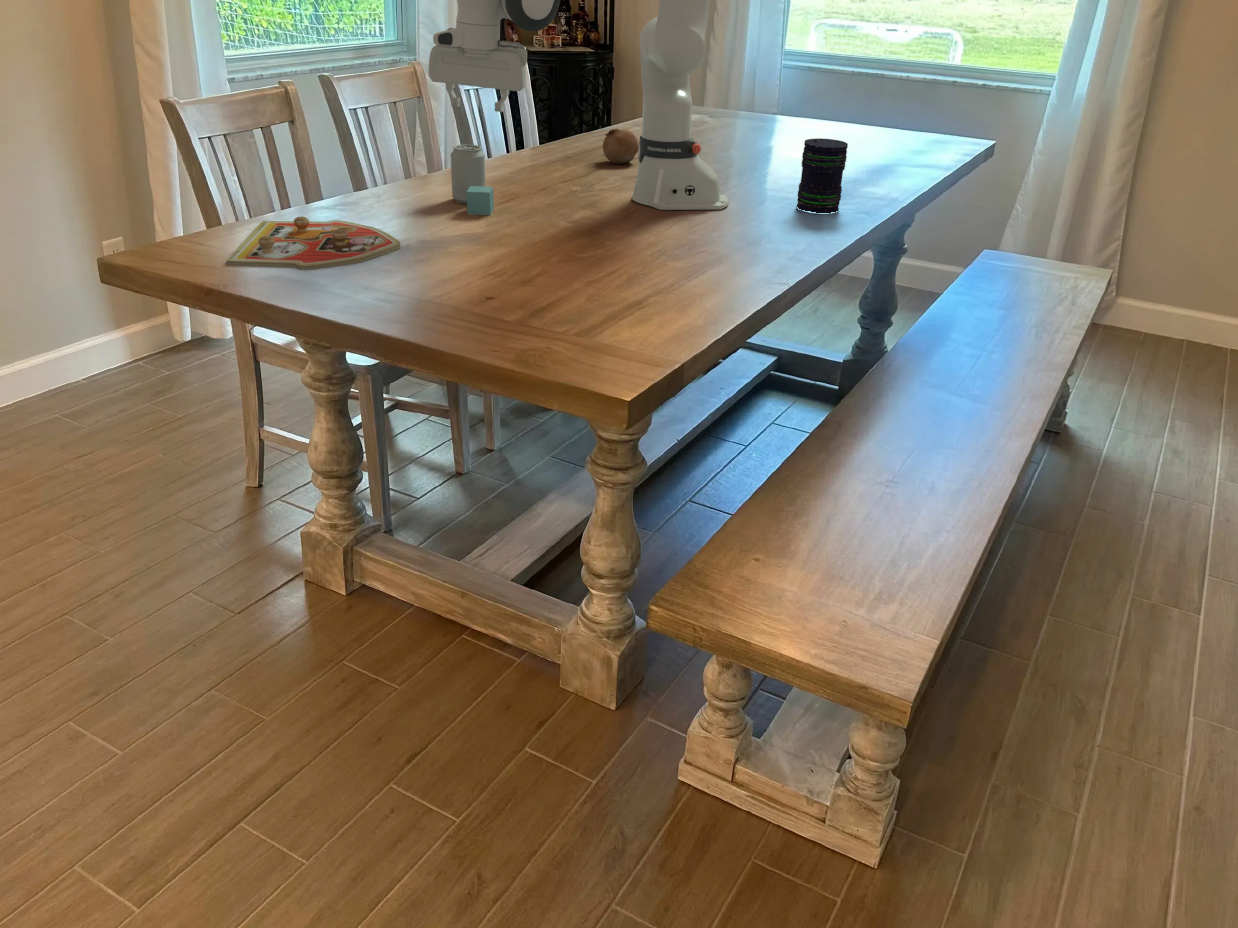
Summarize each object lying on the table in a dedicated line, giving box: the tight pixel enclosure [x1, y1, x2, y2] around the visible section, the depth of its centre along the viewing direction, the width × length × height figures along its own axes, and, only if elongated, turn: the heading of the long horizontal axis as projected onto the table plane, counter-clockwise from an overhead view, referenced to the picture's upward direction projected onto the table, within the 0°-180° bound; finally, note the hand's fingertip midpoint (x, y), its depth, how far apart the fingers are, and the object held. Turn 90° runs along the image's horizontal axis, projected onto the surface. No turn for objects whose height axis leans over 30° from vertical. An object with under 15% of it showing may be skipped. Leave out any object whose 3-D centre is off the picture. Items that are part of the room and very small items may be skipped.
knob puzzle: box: [226, 216, 401, 271], centre depth 192 cm, size 29×30×4 cm
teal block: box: [466, 186, 495, 216], centre depth 217 cm, size 5×5×5 cm
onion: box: [602, 128, 639, 165], centre depth 264 cm, size 10×9×10 cm
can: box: [450, 143, 486, 205], centre depth 223 cm, size 8×8×12 cm
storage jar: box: [796, 137, 849, 213], centre depth 227 cm, size 10×10×15 cm
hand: (477, 108), depth 210 cm, fingers open, 8 cm apart
